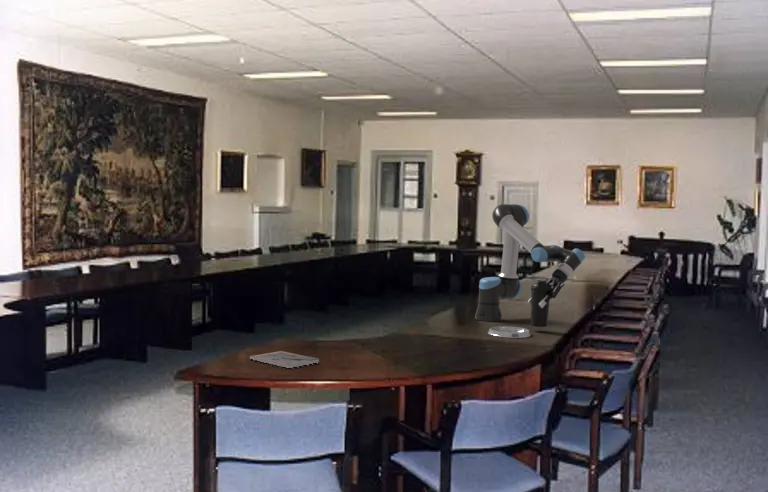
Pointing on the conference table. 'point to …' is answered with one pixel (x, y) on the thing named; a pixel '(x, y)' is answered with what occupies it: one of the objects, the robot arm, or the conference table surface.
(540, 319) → the water bottle
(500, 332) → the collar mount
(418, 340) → the conference table surface
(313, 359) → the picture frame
